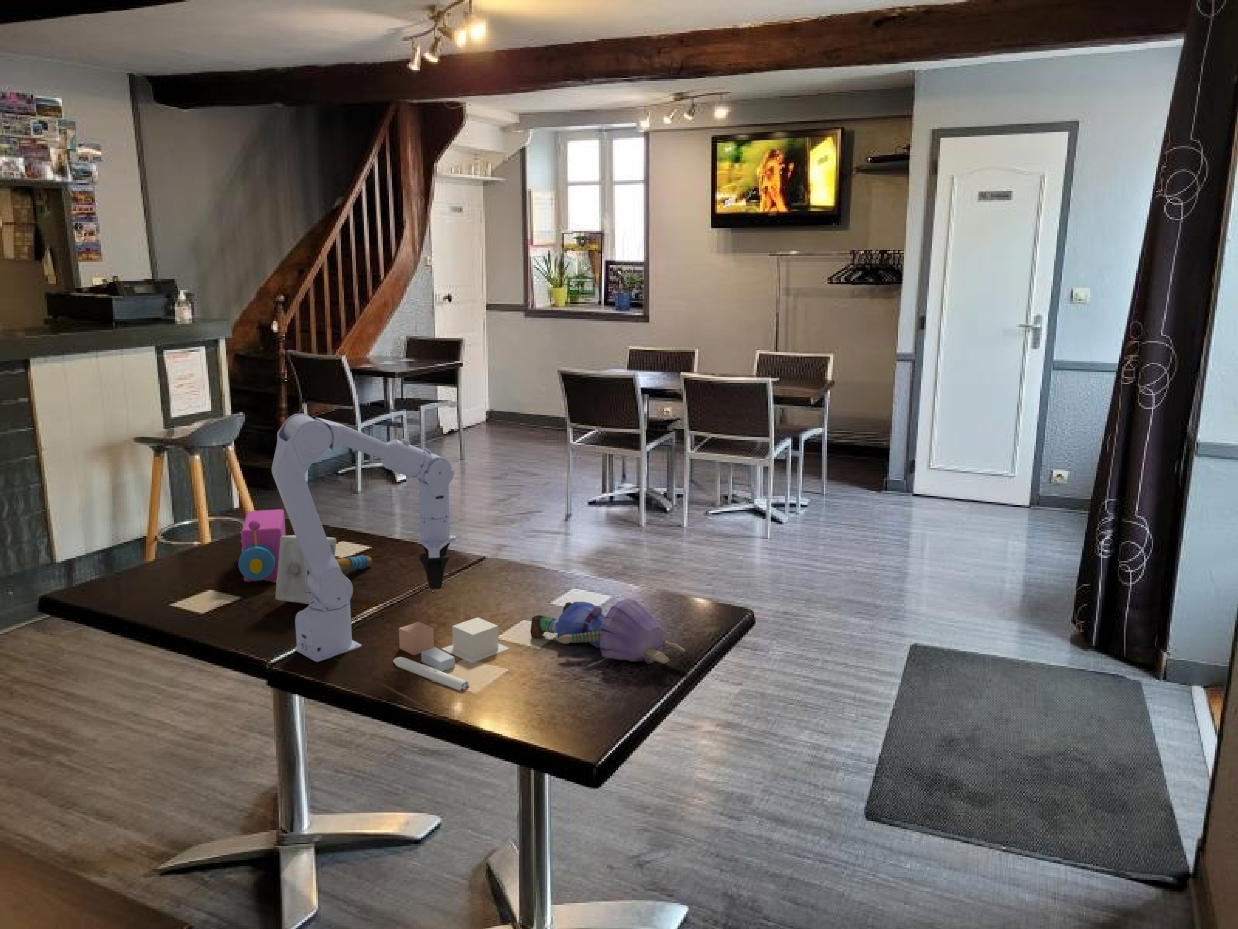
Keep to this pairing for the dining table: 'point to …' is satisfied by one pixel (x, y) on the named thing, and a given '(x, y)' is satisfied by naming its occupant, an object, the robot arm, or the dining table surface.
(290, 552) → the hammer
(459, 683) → the marker
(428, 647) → the top block
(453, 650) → the plate
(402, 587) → the dining table surface
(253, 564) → the toy
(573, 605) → the toy
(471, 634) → the base block
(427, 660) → the brick
